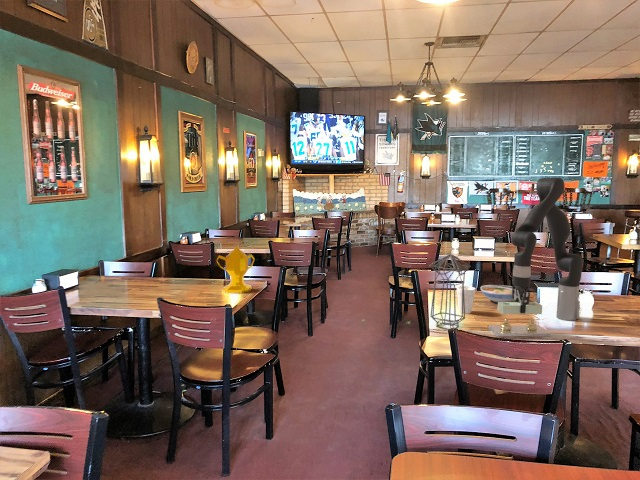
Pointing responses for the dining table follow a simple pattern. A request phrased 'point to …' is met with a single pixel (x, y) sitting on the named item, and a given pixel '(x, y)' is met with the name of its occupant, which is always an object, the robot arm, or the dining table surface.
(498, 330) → the board with brass pegs
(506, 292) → the ramen bowl
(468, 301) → the foam cup
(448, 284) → the geometric lantern
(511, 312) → the bar
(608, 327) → the dining table surface
